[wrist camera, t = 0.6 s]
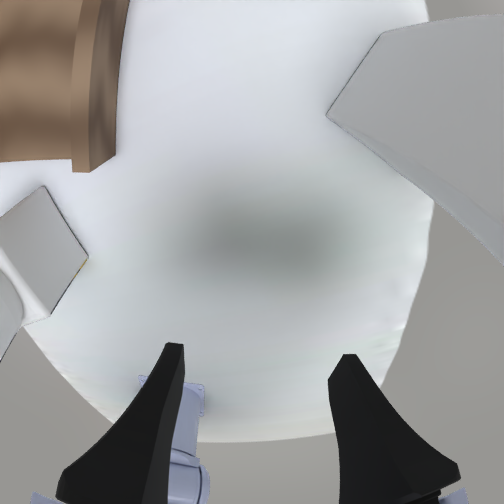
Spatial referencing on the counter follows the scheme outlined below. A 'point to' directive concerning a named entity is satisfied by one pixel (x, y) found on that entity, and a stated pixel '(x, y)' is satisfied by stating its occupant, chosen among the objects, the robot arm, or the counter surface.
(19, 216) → the medicine bottle
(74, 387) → the counter surface
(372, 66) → the milk carton
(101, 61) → the wooden tray
